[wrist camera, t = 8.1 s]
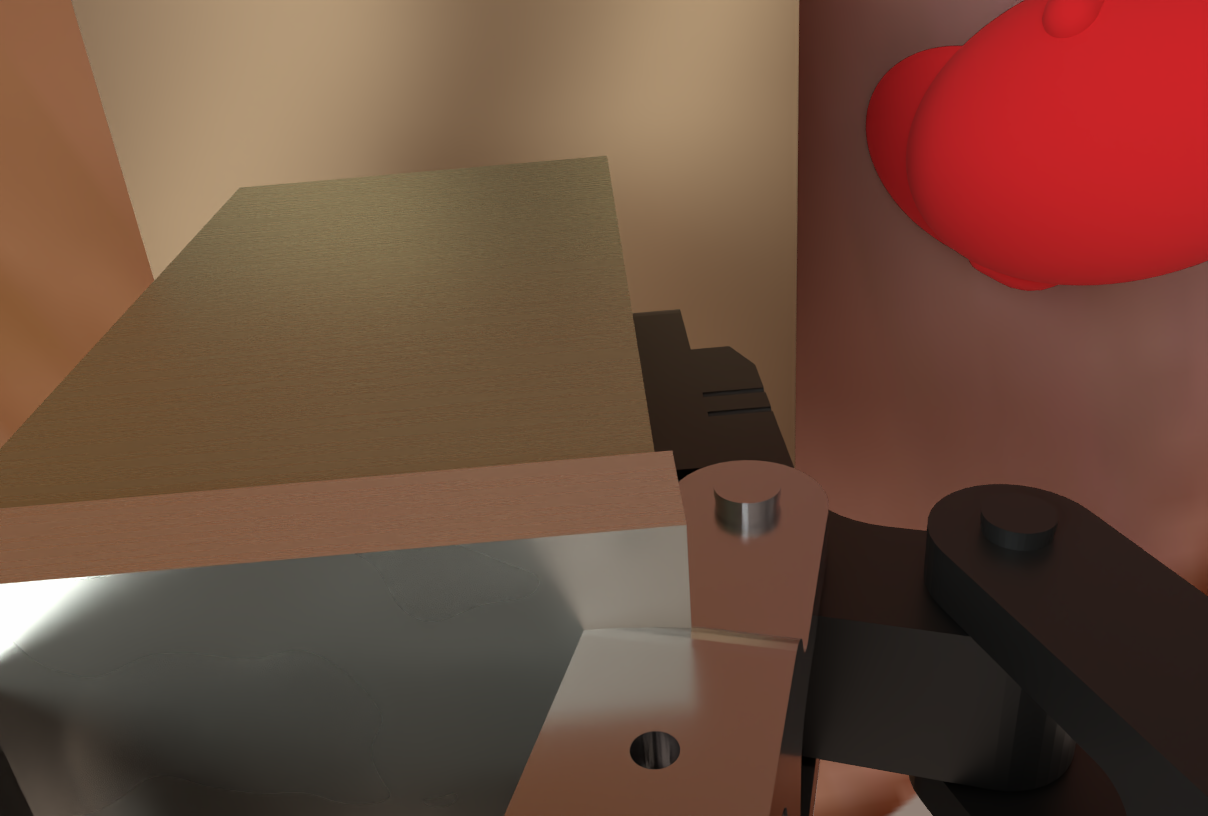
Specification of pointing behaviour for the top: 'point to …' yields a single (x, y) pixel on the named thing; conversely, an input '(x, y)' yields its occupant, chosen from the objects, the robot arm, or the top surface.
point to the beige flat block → (487, 126)
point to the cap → (1056, 141)
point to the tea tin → (337, 506)
